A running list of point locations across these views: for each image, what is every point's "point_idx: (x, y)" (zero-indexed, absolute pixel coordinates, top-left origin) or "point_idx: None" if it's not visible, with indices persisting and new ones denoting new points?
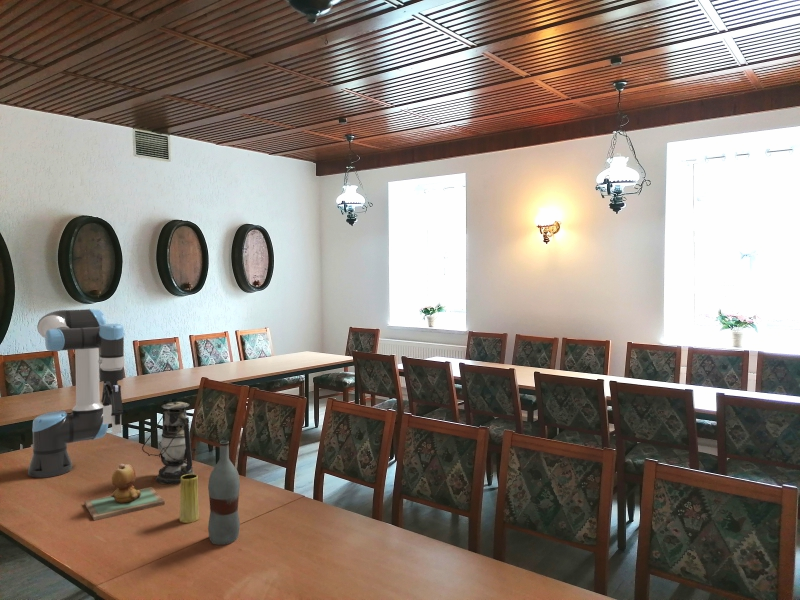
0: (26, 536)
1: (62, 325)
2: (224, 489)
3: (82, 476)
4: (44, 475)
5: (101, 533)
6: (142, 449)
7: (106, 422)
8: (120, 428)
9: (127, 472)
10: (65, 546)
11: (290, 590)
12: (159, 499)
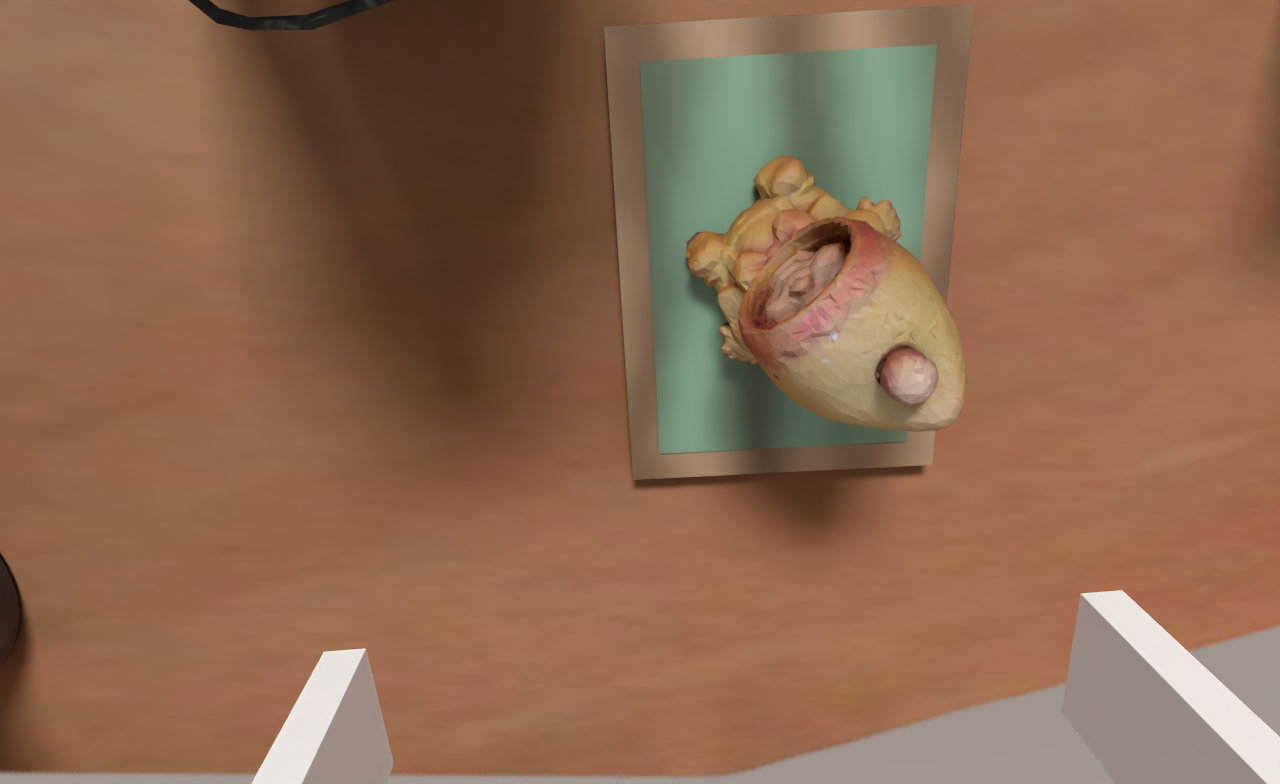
0: (903, 718)
1: None
2: None
3: (66, 427)
4: (9, 629)
5: (1131, 444)
6: (268, 29)
7: (375, 750)
8: (1180, 663)
9: (944, 318)
10: (1151, 597)
11: None
12: (918, 34)
